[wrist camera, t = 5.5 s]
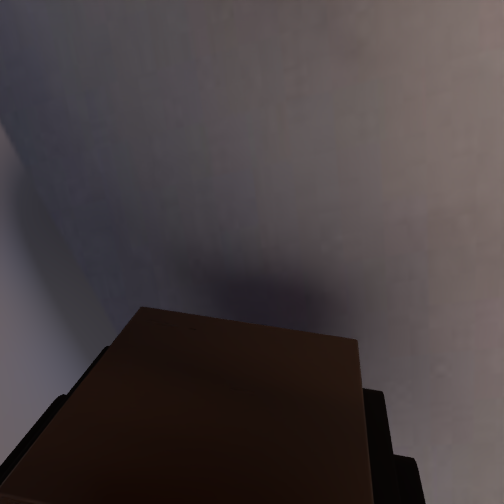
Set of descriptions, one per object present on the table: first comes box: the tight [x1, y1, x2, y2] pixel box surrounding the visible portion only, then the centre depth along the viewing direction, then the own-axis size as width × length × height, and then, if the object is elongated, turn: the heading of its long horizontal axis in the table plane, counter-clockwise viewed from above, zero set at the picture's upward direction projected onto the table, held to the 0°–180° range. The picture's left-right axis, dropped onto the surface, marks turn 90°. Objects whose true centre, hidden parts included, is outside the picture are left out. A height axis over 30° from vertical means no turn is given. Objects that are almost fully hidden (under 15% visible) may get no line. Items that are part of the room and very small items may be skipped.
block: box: [0, 307, 374, 504], centre depth 9 cm, size 5×5×5 cm
